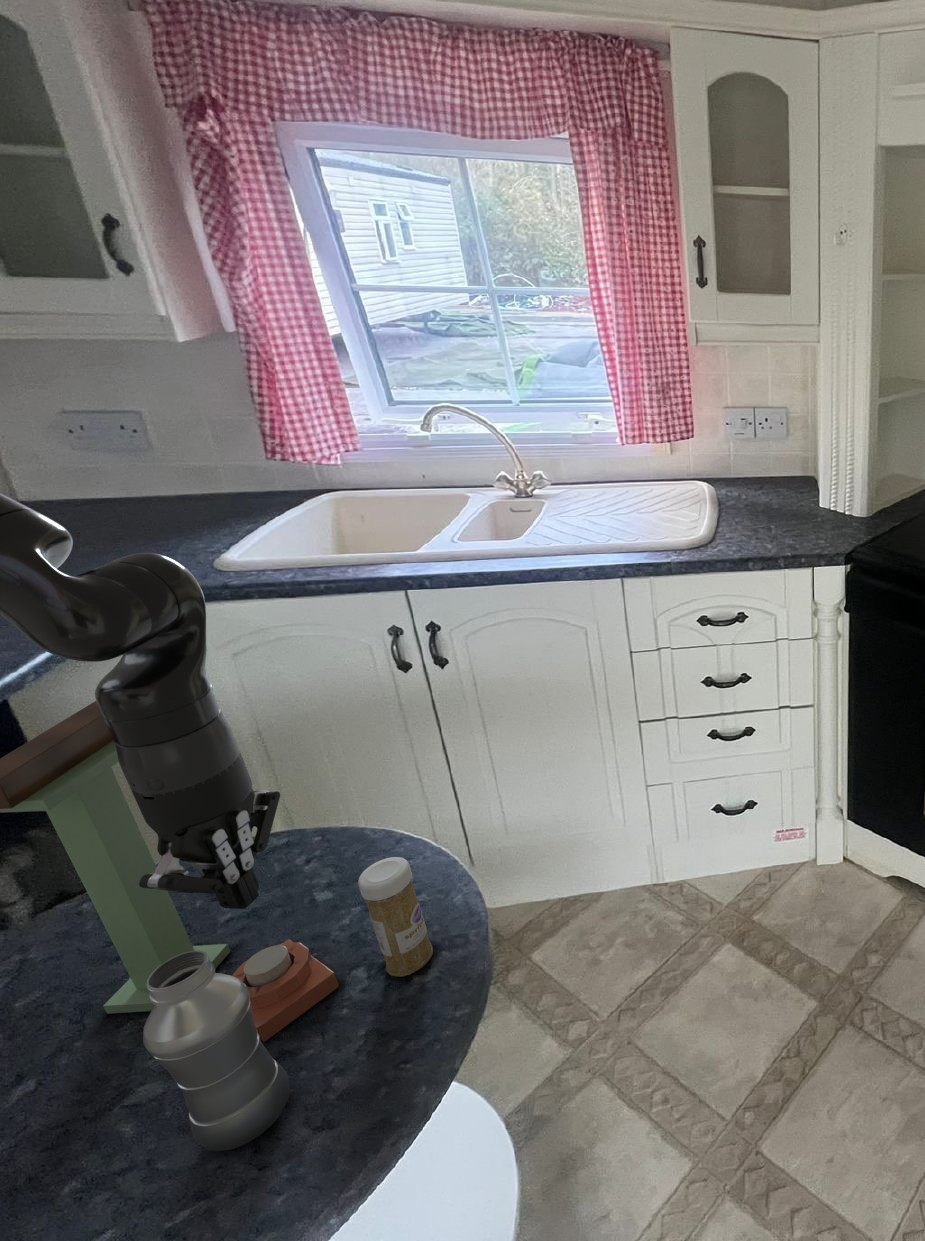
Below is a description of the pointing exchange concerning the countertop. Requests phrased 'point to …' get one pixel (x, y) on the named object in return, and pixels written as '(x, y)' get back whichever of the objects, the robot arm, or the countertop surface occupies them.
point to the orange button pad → (289, 991)
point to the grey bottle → (213, 1051)
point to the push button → (267, 965)
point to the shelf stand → (116, 873)
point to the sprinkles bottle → (396, 915)
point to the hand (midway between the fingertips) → (242, 902)
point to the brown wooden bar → (51, 755)
